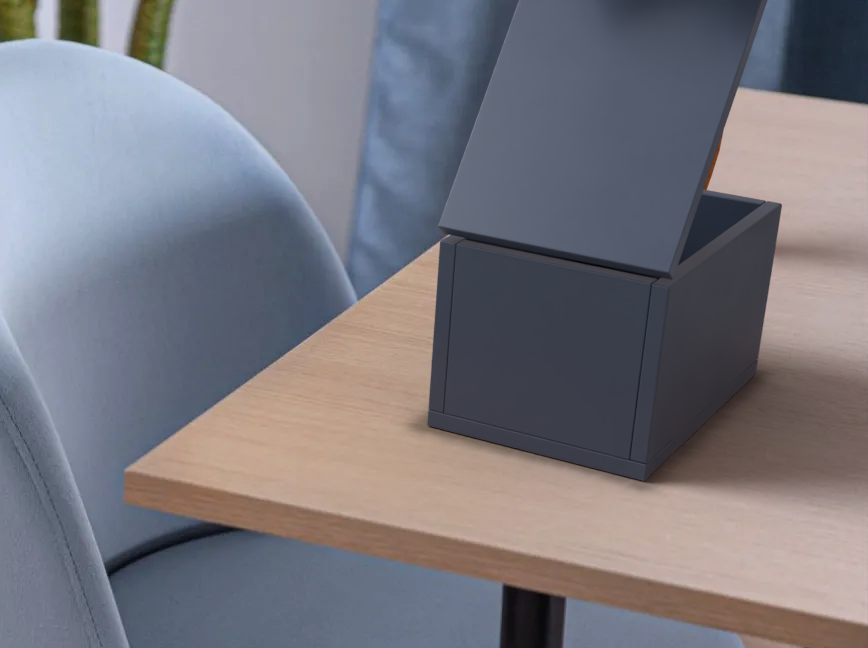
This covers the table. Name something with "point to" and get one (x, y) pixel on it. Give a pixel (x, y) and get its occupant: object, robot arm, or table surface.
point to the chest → (601, 341)
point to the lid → (602, 128)
